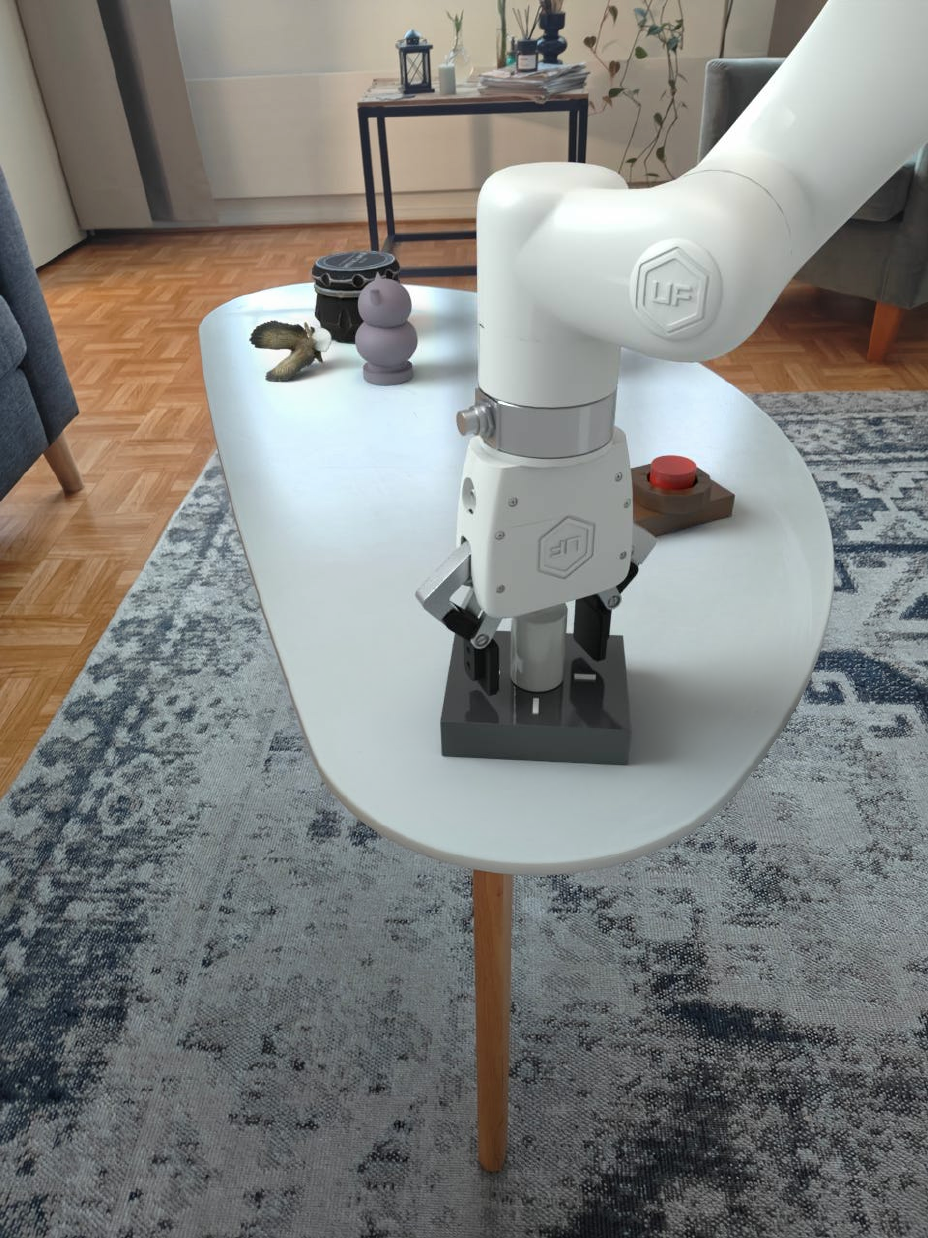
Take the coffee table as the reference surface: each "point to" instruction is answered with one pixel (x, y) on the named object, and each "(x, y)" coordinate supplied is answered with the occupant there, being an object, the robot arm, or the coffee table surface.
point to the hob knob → (539, 648)
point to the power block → (677, 502)
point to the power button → (673, 472)
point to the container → (347, 288)
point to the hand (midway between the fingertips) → (537, 664)
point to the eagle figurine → (291, 346)
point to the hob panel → (541, 710)
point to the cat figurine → (386, 332)
